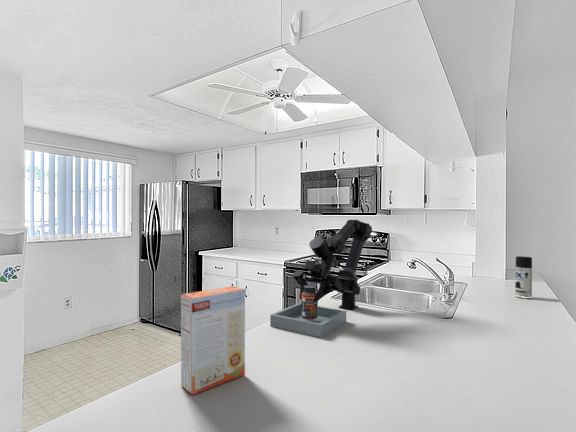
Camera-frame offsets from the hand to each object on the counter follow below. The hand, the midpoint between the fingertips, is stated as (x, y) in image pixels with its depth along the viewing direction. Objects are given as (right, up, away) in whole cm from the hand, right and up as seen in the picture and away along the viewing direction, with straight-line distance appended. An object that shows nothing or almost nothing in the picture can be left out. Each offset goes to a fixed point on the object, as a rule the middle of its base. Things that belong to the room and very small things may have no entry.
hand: (307, 300), depth 119 cm
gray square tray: (+1, -9, +1) cm, 9 cm away
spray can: (+109, -10, +45) cm, 118 cm away
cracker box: (-24, -8, -41) cm, 49 cm away
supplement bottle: (+1, -7, +1) cm, 7 cm away
